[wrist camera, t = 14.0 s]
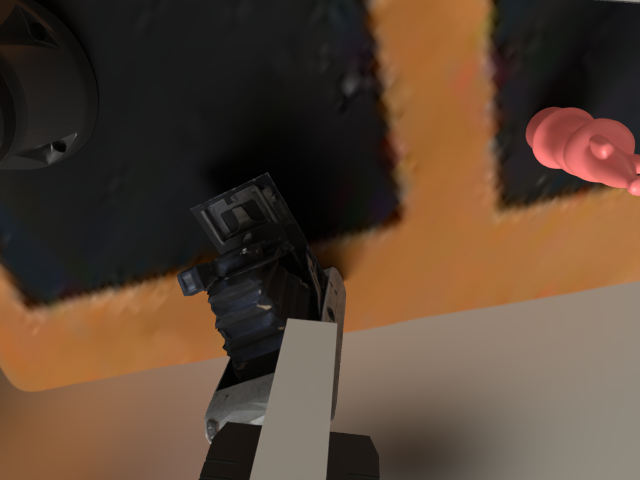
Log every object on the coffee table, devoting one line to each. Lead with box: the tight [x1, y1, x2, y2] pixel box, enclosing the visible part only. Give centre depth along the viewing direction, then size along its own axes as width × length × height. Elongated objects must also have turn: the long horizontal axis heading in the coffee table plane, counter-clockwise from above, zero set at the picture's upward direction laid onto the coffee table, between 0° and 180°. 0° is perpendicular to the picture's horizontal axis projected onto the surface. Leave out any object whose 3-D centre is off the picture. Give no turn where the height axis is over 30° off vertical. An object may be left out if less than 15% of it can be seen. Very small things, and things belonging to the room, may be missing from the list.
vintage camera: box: [177, 172, 346, 444], centre depth 38 cm, size 10×16×20 cm, turn 27°
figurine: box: [526, 107, 640, 195], centre depth 33 cm, size 5×5×15 cm
